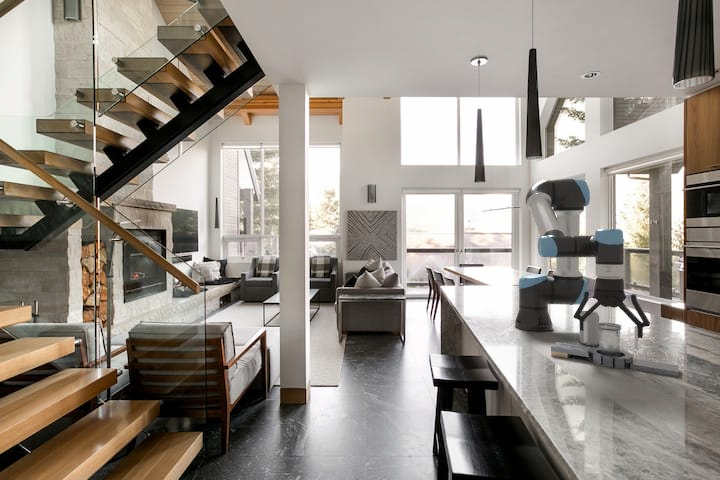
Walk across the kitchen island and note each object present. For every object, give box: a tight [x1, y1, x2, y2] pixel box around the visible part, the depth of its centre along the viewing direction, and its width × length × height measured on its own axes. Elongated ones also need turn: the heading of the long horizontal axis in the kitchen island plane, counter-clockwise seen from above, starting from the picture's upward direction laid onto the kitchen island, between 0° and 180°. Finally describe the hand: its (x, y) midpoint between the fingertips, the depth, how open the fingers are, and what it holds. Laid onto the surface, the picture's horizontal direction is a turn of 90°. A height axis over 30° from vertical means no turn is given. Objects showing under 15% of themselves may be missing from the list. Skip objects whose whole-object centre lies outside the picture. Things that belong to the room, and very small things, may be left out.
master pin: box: [598, 322, 622, 357], centre depth 121 cm, size 6×6×12 cm
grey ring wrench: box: [550, 341, 679, 378], centre depth 121 cm, size 33×12×3 cm, turn 50°
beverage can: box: [578, 310, 600, 346], centre depth 142 cm, size 6×6×12 cm
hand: (610, 344), depth 121 cm, fingers open, 13 cm apart
